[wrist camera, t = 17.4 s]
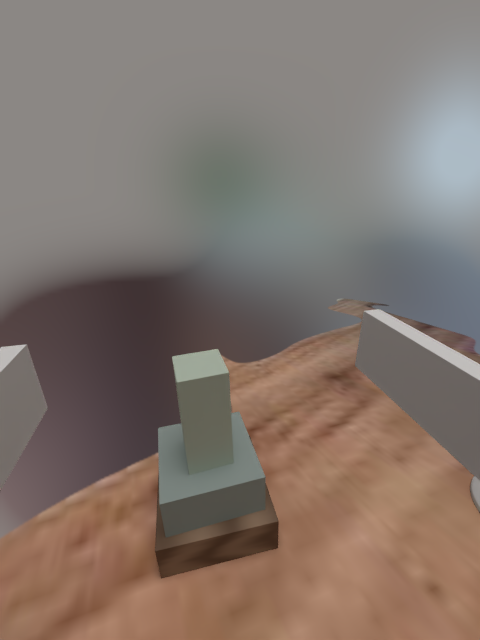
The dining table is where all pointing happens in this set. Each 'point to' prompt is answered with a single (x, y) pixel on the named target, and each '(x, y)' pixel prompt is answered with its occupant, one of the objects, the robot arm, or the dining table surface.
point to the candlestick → (475, 492)
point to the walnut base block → (216, 540)
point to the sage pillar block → (204, 409)
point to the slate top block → (207, 483)
